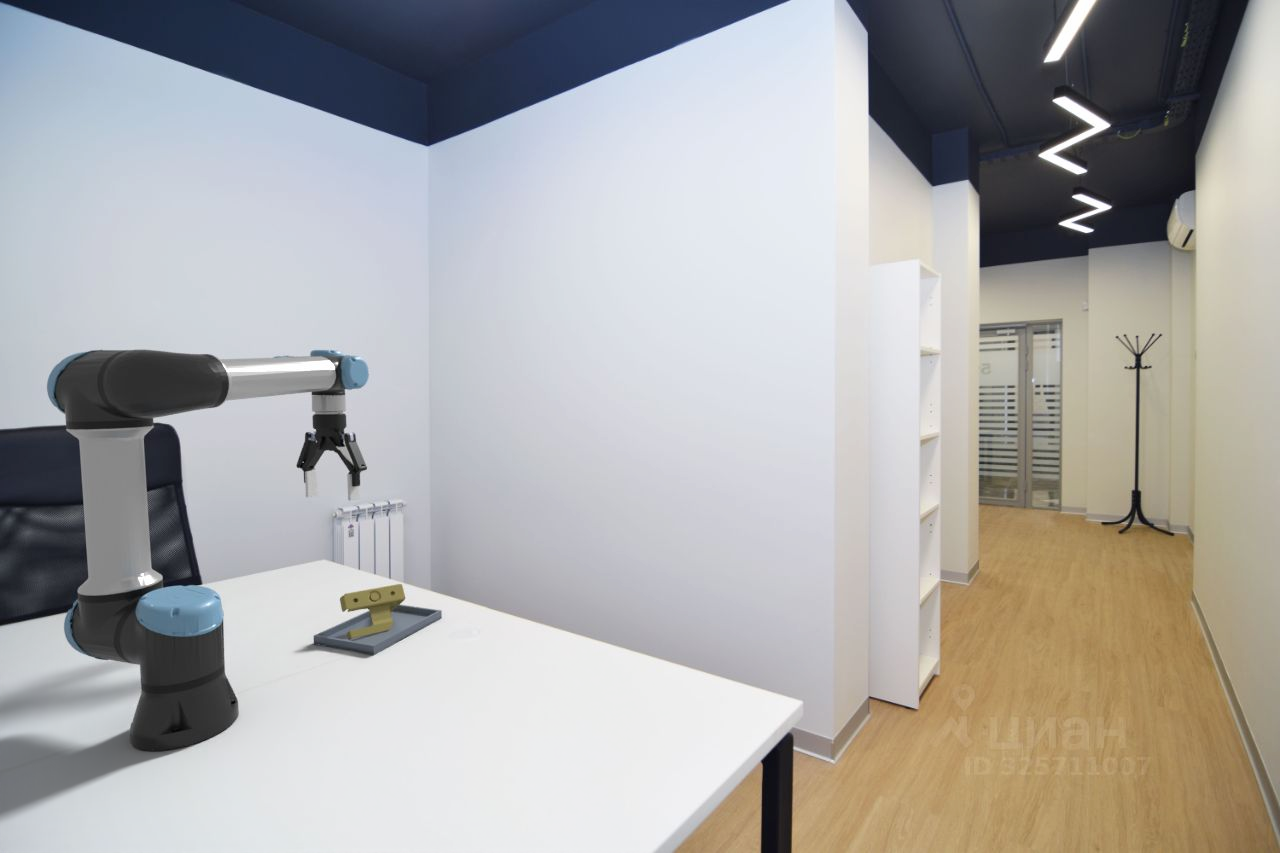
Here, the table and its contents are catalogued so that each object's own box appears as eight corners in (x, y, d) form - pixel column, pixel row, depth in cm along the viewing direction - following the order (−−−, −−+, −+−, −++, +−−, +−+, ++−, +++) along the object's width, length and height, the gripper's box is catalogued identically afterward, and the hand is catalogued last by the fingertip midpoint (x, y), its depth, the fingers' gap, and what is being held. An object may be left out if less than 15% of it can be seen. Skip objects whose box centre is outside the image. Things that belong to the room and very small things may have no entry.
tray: (373, 655, 137) (373, 646, 137) (313, 644, 143) (313, 635, 143) (441, 618, 159) (441, 610, 159) (387, 610, 165) (386, 602, 164)
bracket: (396, 637, 158) (412, 623, 152) (336, 651, 148) (351, 637, 142) (387, 597, 162) (402, 582, 156) (328, 608, 152) (342, 593, 146)
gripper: (380, 413, 155) (383, 498, 156) (304, 411, 163) (307, 492, 164) (357, 414, 148) (360, 503, 149) (278, 413, 156) (281, 497, 157)
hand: (332, 498), depth 157 cm, fingers open, 13 cm apart
